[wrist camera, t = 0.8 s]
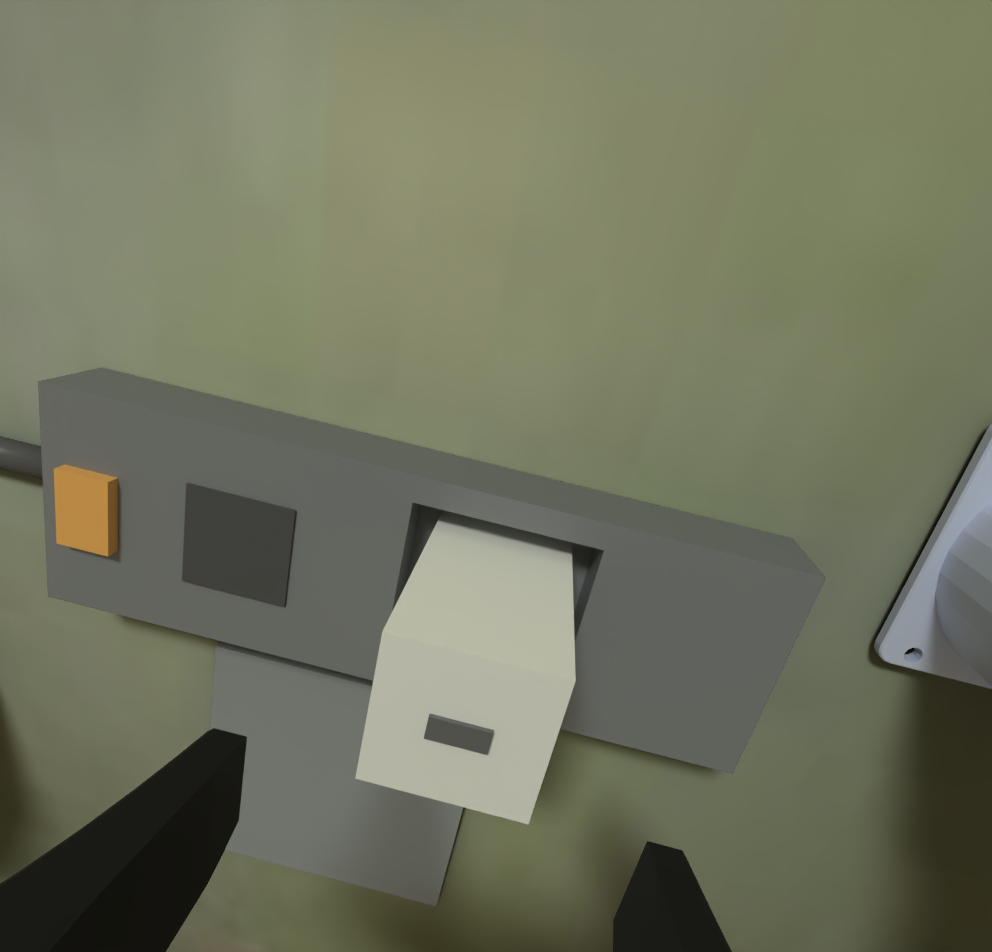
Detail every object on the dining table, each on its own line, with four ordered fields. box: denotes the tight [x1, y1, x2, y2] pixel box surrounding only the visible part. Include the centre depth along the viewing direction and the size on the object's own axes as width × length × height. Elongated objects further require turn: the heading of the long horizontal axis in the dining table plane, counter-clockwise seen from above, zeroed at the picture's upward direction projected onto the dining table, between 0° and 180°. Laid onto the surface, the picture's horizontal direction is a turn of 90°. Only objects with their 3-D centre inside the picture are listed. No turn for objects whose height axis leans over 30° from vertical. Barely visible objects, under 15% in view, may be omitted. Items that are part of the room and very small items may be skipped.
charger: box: [355, 510, 576, 824], centre depth 16 cm, size 4×4×7 cm
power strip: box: [0, 368, 826, 774], centre depth 18 cm, size 31×7×3 cm, turn 77°
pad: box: [210, 641, 463, 907], centre depth 23 cm, size 10×10×1 cm
